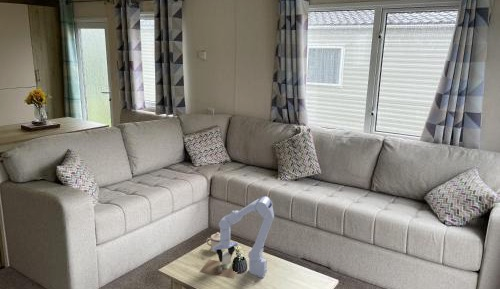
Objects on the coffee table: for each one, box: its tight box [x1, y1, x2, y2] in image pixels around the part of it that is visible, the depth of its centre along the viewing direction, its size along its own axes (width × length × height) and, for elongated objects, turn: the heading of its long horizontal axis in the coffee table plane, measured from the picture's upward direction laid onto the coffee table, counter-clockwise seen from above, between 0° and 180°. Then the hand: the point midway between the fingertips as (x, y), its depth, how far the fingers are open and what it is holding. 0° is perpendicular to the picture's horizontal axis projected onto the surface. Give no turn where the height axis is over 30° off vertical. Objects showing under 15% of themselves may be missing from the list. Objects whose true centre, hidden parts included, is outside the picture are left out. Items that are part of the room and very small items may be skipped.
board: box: [199, 258, 239, 279], centre depth 223 cm, size 20×14×4 cm
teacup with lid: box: [205, 231, 226, 253], centre depth 244 cm, size 12×9×12 cm
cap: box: [221, 250, 232, 264], centre depth 225 cm, size 5×5×4 cm
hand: (225, 259), depth 226 cm, fingers closed on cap, 5 cm apart
